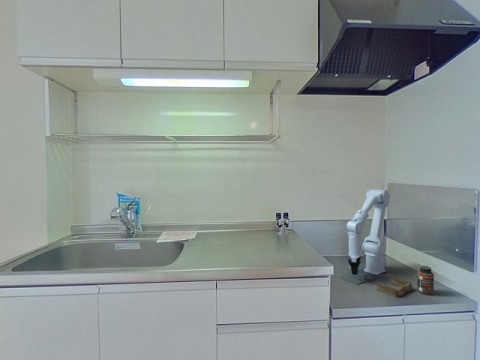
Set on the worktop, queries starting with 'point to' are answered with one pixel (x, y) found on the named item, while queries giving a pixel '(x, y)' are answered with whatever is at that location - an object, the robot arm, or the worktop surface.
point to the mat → (355, 281)
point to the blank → (359, 275)
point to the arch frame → (398, 292)
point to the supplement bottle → (425, 281)
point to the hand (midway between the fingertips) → (355, 271)
